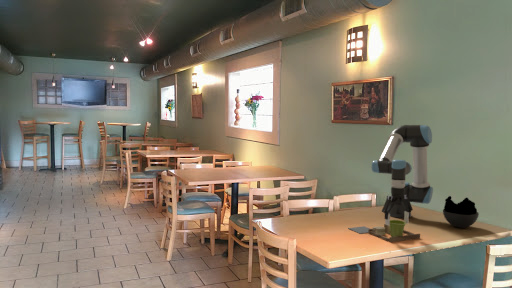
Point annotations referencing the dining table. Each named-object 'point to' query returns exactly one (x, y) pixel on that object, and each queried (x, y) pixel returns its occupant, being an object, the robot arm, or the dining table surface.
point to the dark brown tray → (397, 238)
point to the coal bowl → (460, 213)
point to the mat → (360, 229)
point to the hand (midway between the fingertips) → (396, 224)
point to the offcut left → (379, 230)
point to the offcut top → (387, 229)
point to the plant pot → (397, 227)
